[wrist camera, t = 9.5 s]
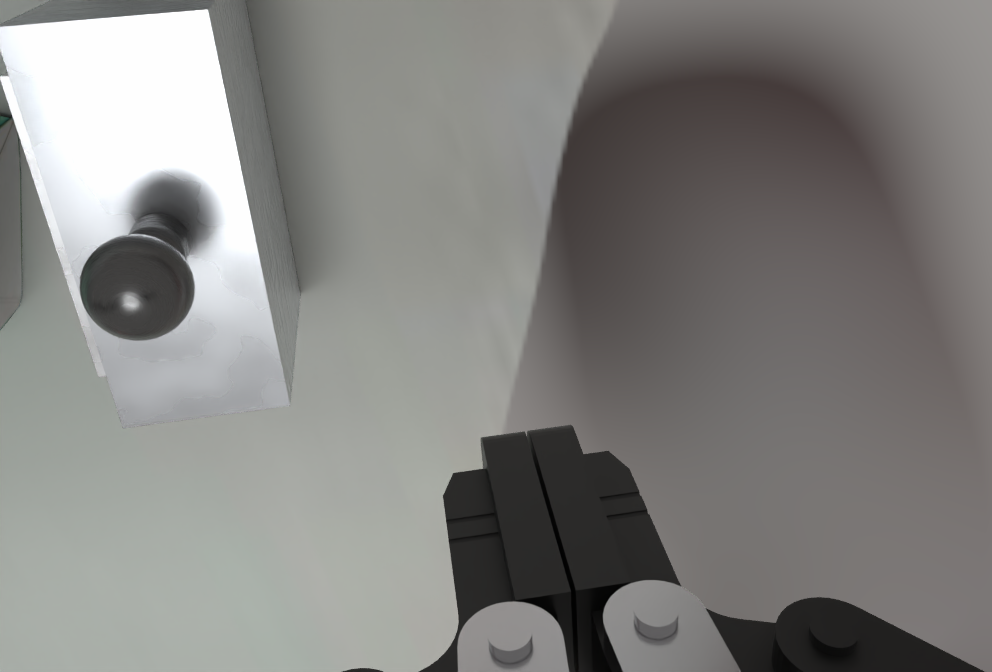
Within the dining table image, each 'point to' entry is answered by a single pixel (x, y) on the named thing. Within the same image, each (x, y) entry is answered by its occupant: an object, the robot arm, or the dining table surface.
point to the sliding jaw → (160, 198)
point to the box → (10, 221)
